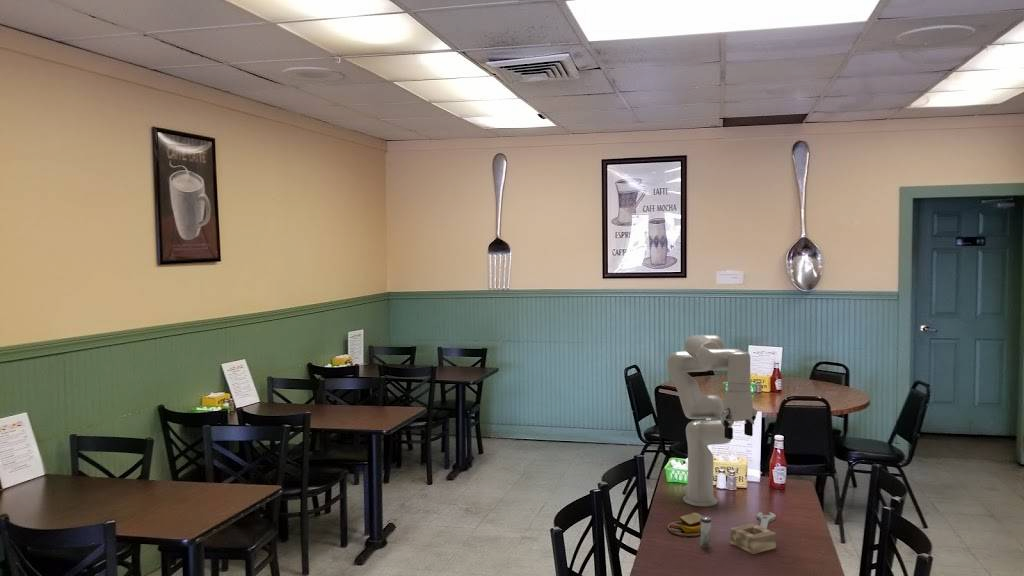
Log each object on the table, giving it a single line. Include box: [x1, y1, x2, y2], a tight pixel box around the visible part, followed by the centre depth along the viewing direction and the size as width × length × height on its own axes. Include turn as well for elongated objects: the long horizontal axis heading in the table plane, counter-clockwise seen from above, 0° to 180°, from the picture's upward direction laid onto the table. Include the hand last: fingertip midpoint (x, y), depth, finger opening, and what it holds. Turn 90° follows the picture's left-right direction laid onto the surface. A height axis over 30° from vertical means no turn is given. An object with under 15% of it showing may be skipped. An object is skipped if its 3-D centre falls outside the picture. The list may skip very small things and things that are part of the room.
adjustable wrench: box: [755, 511, 777, 530], centre depth 266 cm, size 25×6×2 cm, turn 152°
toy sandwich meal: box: [667, 512, 703, 537], centre depth 262 cm, size 12×14×5 cm
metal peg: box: [700, 515, 712, 549], centre depth 248 cm, size 3×3×10 cm
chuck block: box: [729, 523, 777, 555], centre depth 248 cm, size 10×10×5 cm
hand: (738, 436), depth 262 cm, fingers open, 9 cm apart
